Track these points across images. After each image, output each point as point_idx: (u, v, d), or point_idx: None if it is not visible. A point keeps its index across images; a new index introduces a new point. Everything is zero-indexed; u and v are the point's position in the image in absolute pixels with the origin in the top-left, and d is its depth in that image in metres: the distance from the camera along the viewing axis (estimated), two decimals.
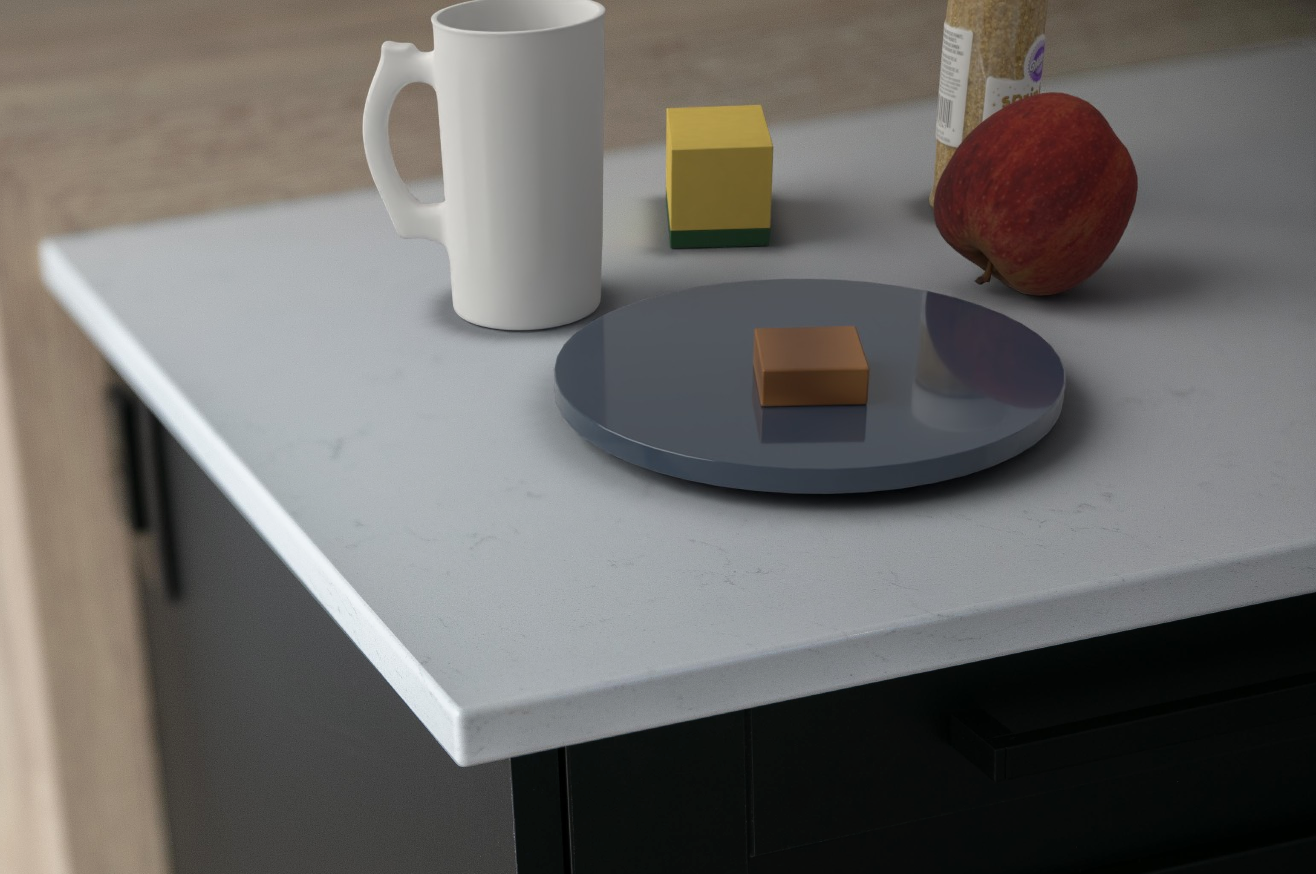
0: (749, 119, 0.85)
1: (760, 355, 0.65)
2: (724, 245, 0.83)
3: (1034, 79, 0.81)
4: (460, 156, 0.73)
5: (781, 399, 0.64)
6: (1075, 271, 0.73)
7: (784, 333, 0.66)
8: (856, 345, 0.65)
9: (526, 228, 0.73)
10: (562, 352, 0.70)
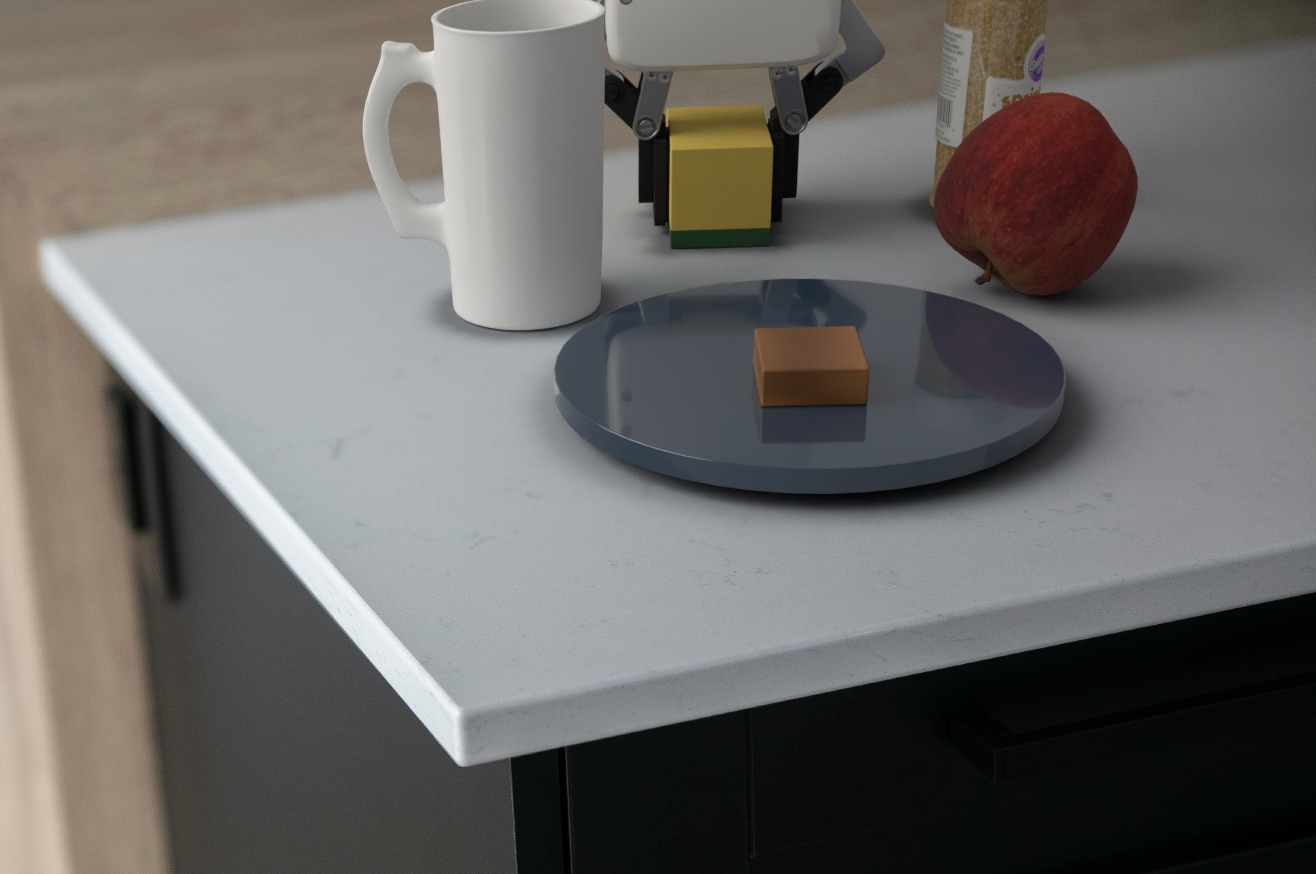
0: (749, 119, 0.85)
1: (760, 355, 0.65)
2: (724, 245, 0.83)
3: (1034, 79, 0.81)
4: (460, 156, 0.73)
5: (781, 399, 0.64)
6: (1075, 271, 0.73)
7: (784, 333, 0.66)
8: (856, 345, 0.65)
9: (526, 228, 0.73)
10: (562, 352, 0.70)
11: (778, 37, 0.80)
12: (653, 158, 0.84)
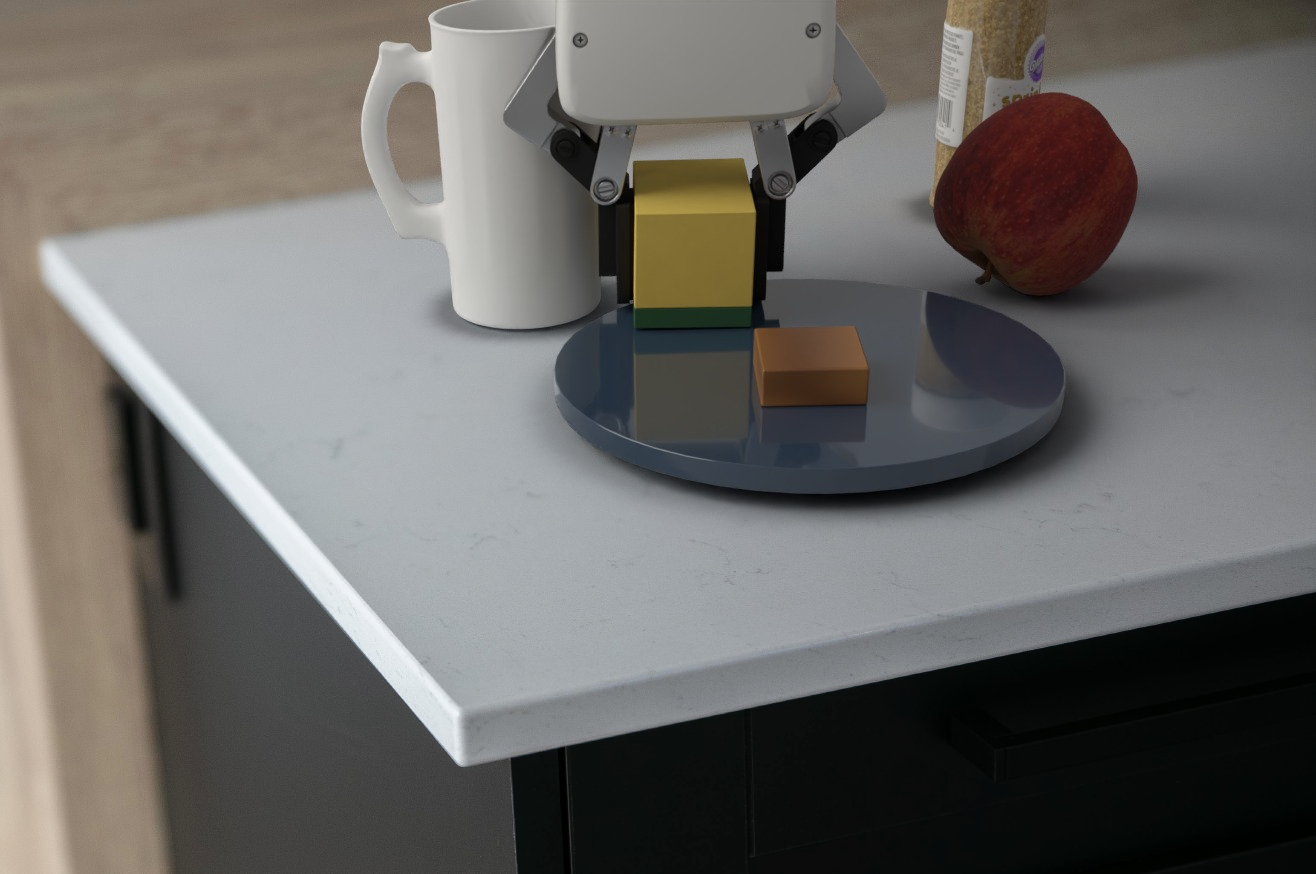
0: (729, 176, 0.72)
1: (760, 355, 0.65)
2: (697, 326, 0.71)
3: (1034, 79, 0.81)
4: (458, 155, 0.73)
5: (781, 399, 0.64)
6: (1075, 271, 0.73)
7: (784, 333, 0.66)
8: (856, 345, 0.65)
9: (525, 226, 0.73)
10: (562, 352, 0.70)
11: (761, 86, 0.67)
12: (615, 225, 0.72)
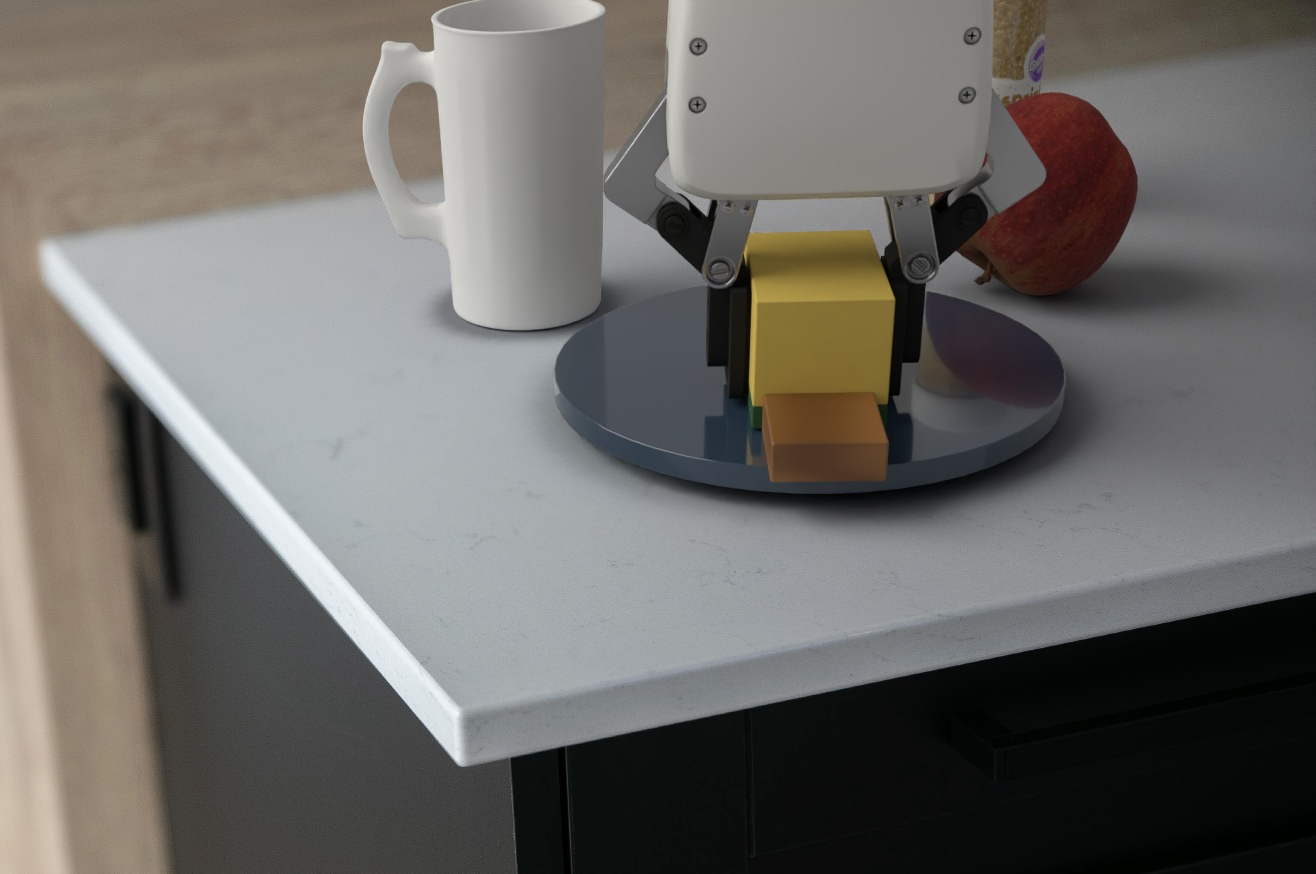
0: (856, 253, 0.64)
1: (769, 425, 0.59)
2: None
3: (1034, 79, 0.81)
4: (460, 156, 0.73)
5: (792, 474, 0.59)
6: (1075, 271, 0.73)
7: (796, 400, 0.61)
8: (874, 415, 0.60)
9: (526, 228, 0.73)
10: (562, 352, 0.70)
11: (904, 158, 0.59)
12: (728, 311, 0.63)
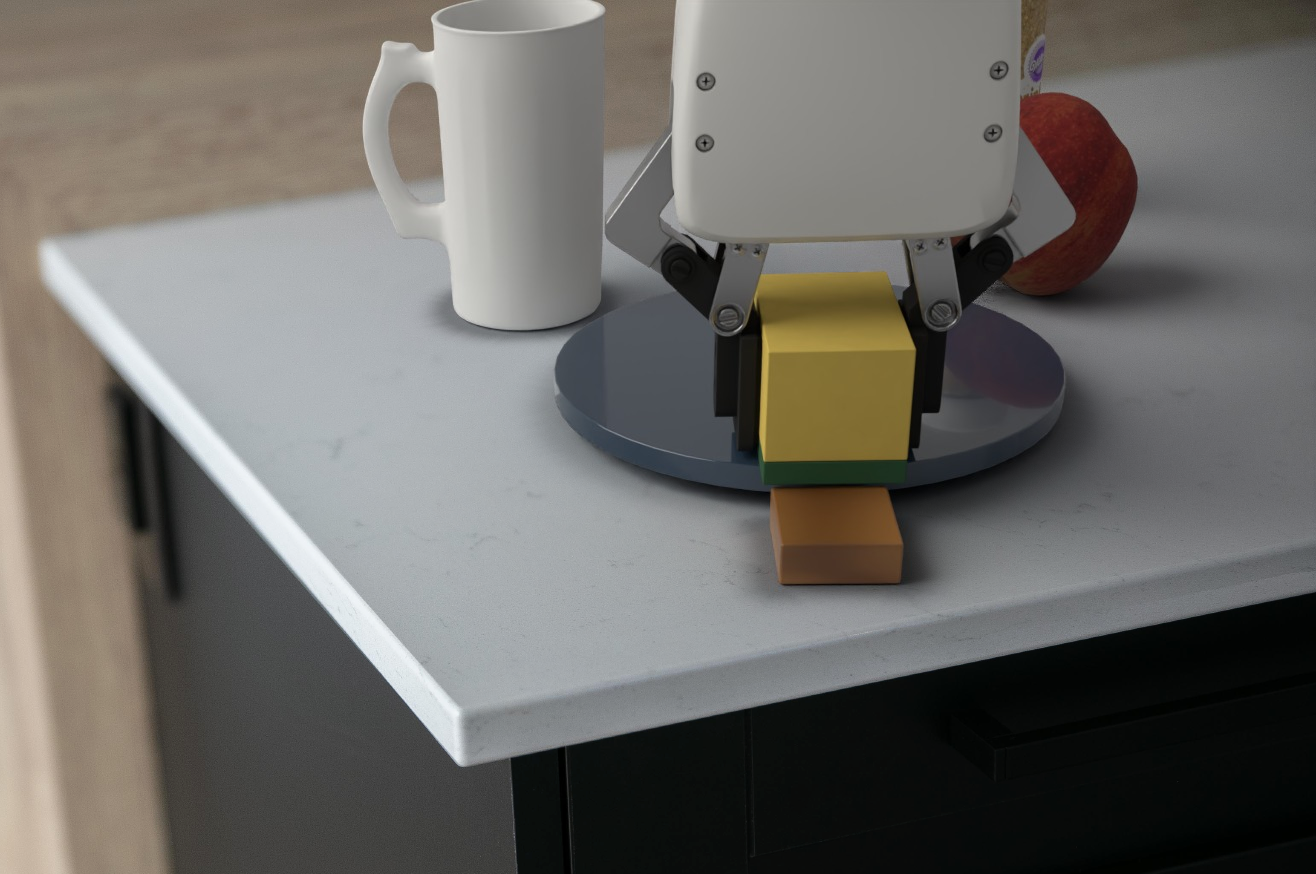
0: (873, 297, 0.60)
1: (778, 524, 0.57)
2: (840, 482, 0.58)
3: (1034, 79, 0.81)
4: (460, 156, 0.73)
5: (802, 576, 0.56)
6: (1075, 271, 0.73)
7: (805, 495, 0.58)
8: (887, 512, 0.57)
9: (526, 228, 0.73)
10: (562, 352, 0.70)
11: (925, 199, 0.55)
12: (737, 359, 0.60)
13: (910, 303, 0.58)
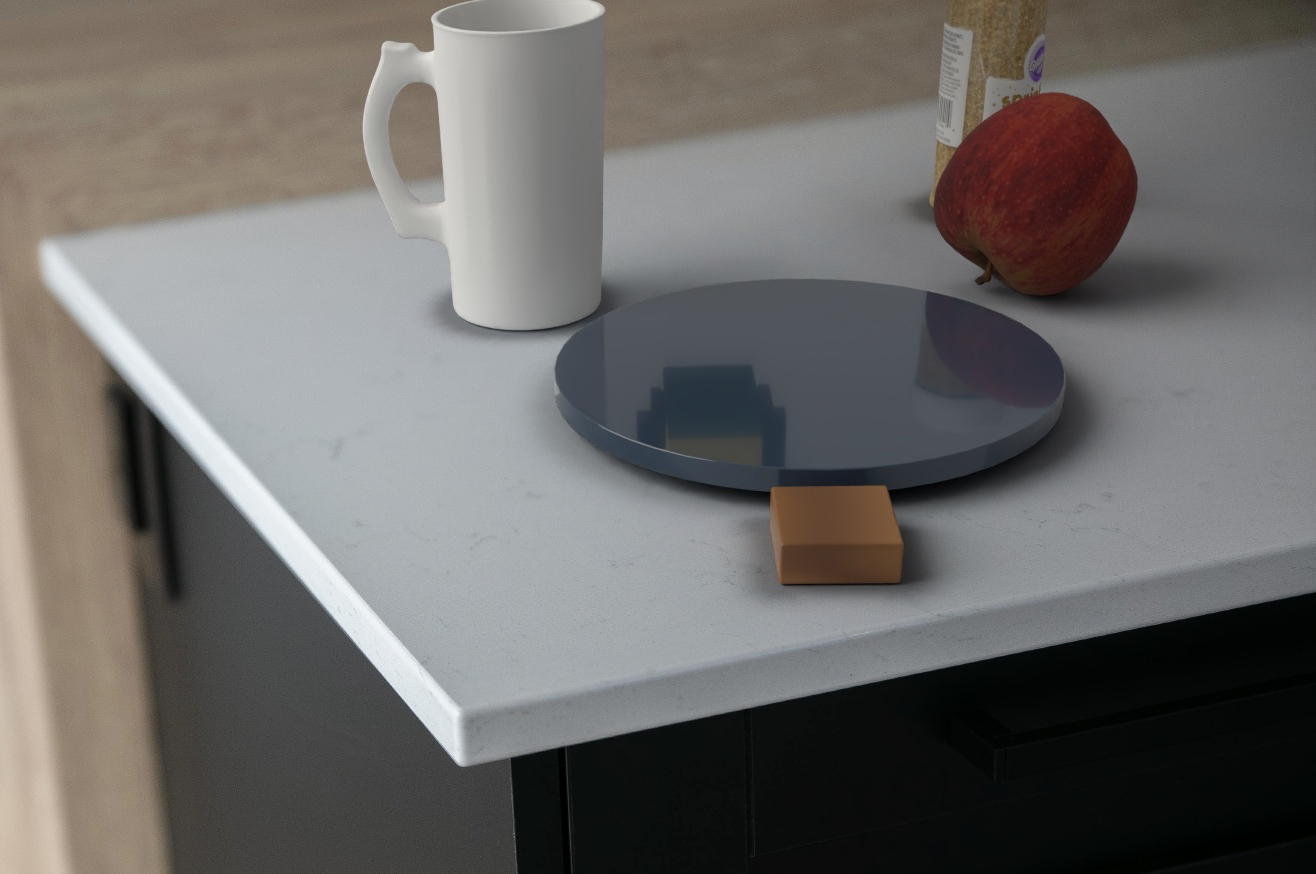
0: None
1: (778, 523, 0.57)
2: None
3: (1034, 79, 0.81)
4: (460, 156, 0.73)
5: (802, 576, 0.56)
6: (1075, 271, 0.73)
7: (805, 495, 0.58)
8: (887, 512, 0.57)
9: (526, 228, 0.73)
10: (562, 352, 0.70)
11: None
12: None
13: None
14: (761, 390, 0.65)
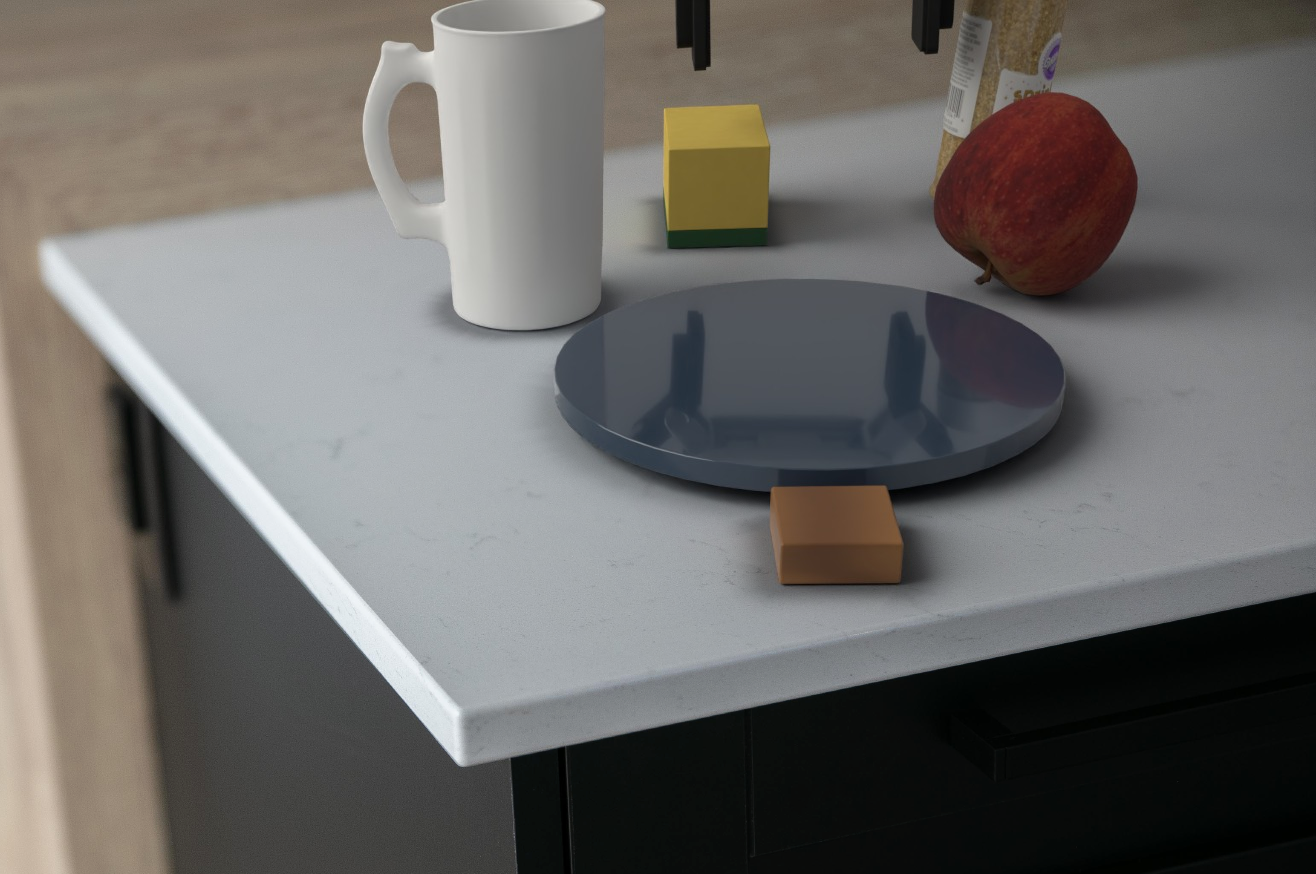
0: (746, 119, 0.85)
1: (778, 523, 0.57)
2: (721, 245, 0.83)
3: (1047, 77, 0.81)
4: (460, 156, 0.73)
5: (802, 576, 0.56)
6: (1075, 271, 0.73)
7: (805, 495, 0.58)
8: (887, 512, 0.57)
9: (526, 228, 0.73)
10: (562, 352, 0.70)
11: None
12: None
13: None
14: (761, 390, 0.65)
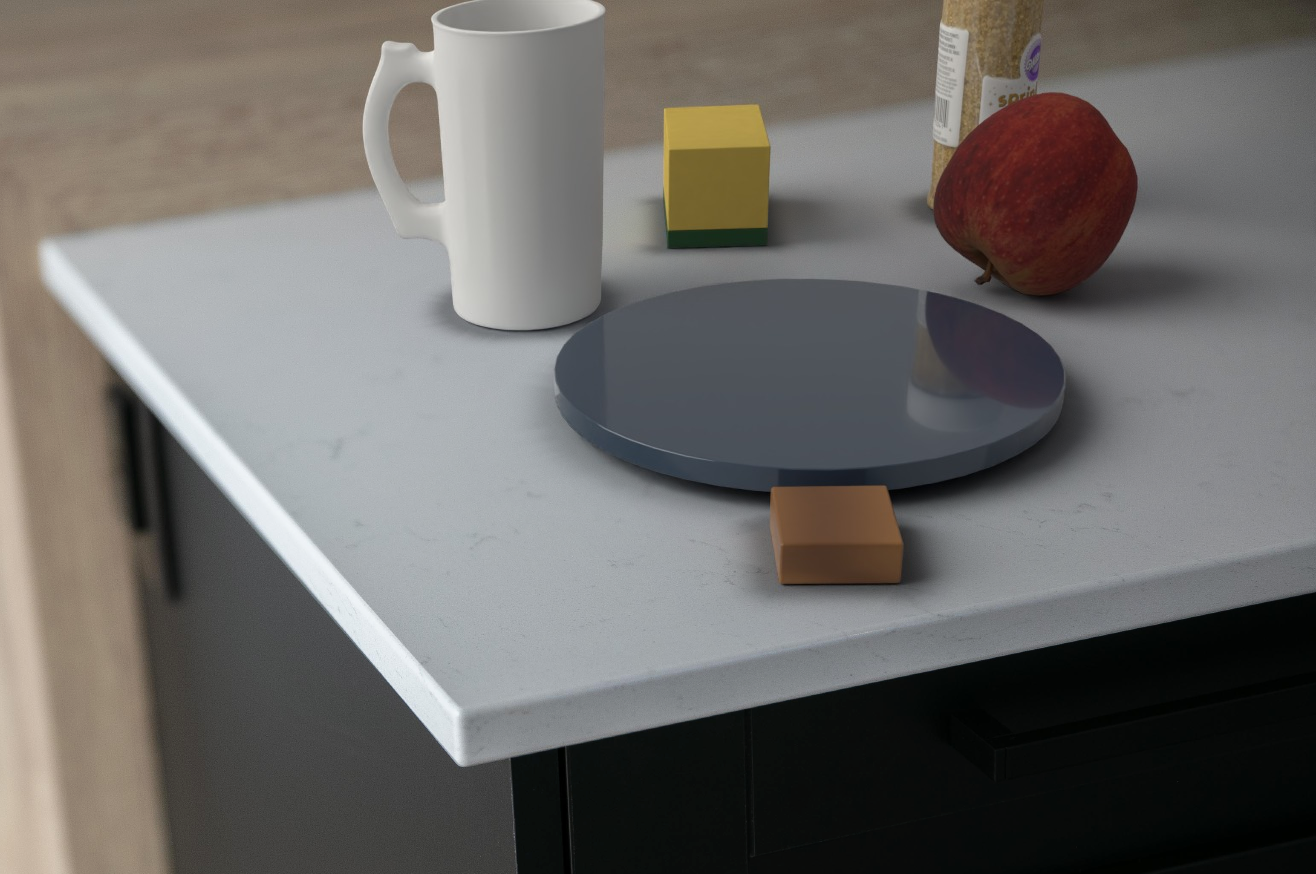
0: (746, 119, 0.85)
1: (778, 523, 0.57)
2: (721, 245, 0.83)
3: (1030, 78, 0.81)
4: (460, 156, 0.73)
5: (802, 576, 0.56)
6: (1075, 271, 0.73)
7: (805, 495, 0.58)
8: (887, 512, 0.57)
9: (526, 228, 0.73)
10: (562, 352, 0.70)
11: None
12: None
13: None
14: (761, 390, 0.65)
